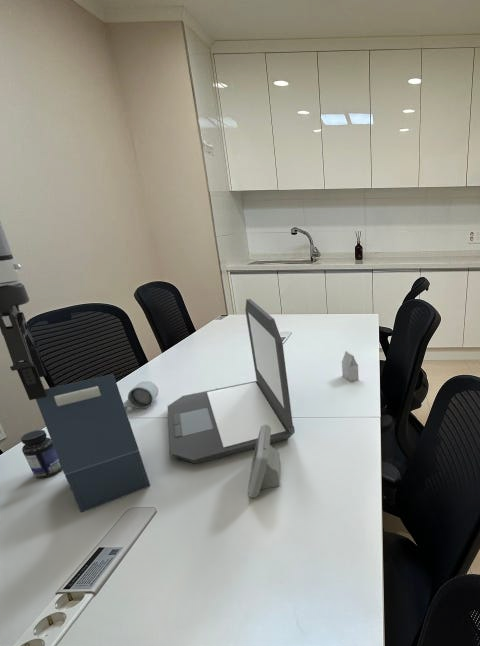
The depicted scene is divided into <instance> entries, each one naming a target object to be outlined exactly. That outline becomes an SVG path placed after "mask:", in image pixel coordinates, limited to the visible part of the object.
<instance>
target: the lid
mask: <svg viewBox="0 0 480 646" xmlns="http://www.w3.org/2000/svg"><path fill="white" fill-rule="evenodd" d="M44 389H45V391H46V394H47V397H42V398H38V399H35V401H36V403H37V406H38V409H39V412H40V415H41V417H42V419H43V422H44V425H45V427H46V430H47V432H48V435H49V438H50V439H51V441H52V443H53V446H54V448H55V451H56V454H57V456H58V459H59V462H60V464H61V467H62V472H63V474H64V475H65V474H66V473H69V472H72V471H75V470H78V469H82V468H85V467H88V466H91V465H94V464H97V463H100V462H103V461H106V460H109V459H112V458H115V457H118V456H121V455H124V454H127V453H130V452H133V451H136V450H139V451H140V449H139V445H138V443H137V440H136V437H135V434H134V431H133V428H132V425H131V422H130V420H129V419H130V418H129V415H128V414H127V410H126V406H125V405H124V402H123V398H122V396H121V393H120V390H119V386H118V383H117V380H116V377H115V375H114V373H112V374H107V375H102V376H97V377H93V378H89V379H84V380H80V381H76V382H71V383H65V384H62V385H58V386H53V387H48V388H44Z"/></svg>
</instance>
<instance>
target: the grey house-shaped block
mask: <svg viewBox="0 0 480 646" xmlns="http://www.w3.org/2000/svg"><path fill="white" fill-rule="evenodd" d="M341 370H342V371H341V373H342V377H343V378H345V379H346V380H347V381H348V382H350V383H352V382H354V381H359V379H360V378H359V364H358V362H357V361H356V359H355V356H354V355H353V354H352V353H351V352H349V351H348V350H345V351H344V355H343V357H342V360H341Z"/></svg>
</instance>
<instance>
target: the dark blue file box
mask: <svg viewBox="0 0 480 646" xmlns="http://www.w3.org/2000/svg"><path fill="white" fill-rule="evenodd" d="M64 476H65V479H66V481H67V484H68V485H69V488H70V490H71V493H72V495H73V497H74V500H75V502H76V504H77V507H78V509H79V511H80V513H83V512H85V511H88V510H91V509H93V508H96V507H99V506H102V505H104V504H106V503H107V504H108V503H109V502H112V501H114V500H117V499H120V498H123V497H125V496H127V495H131V494H133V493H136V492H138V491H141V490H143V489H145V488H149V487H151V484H150V480H149V476H148V474H147V471H146V467H145V465H144V462H143V459H142V456H141V452H140V449H139V450H136V451H133V452H130V453H127V454H124V455H121V456H118V457H115V458H112V459H109V460H106V461H103V462H100V463H97V464H94V465H91V466H88V467H85V468H82V469H78V470H75V471H72V472H69V473H66V474H64Z"/></svg>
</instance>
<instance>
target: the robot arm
mask: <svg viewBox="0 0 480 646" xmlns="http://www.w3.org/2000/svg"><path fill="white" fill-rule="evenodd" d="M1 222H2V221H0V332H1V335H2V337H3V339H4V342H5V345H6V348H7V351H8V353H9V356H10V359H11V362H12V365H10V366H9V368H10V371H12V372H14V371H16V372H17V374H18V376H19V379H20V381H21V383H22V386H23V389H24V391H25V393H26V395H27V398H28V400H29V401H33V400H36V399H38V398H42V397H47V394H46V391H45V389H46V388H45V386H44V383H43V382H42V381H43V380H42V379H41V378H44V377H47V373H46V371H45V367H44V365H43V363H42V360H41V358H40V355H39V353H38V350H37V348H36V347H40V345H39V342H38V341H34V340H35V339H34V338H33V336H32V335H31V332H30V330H29V327H28V324H27V321H26V318H25V314H24V312H23V311H21V310H20V306H22V305H26V304H28V303H29V302H30V297H29V294H28V292H27V289H26V287H25V285H24V284H23V283H22V282H19V281H21V279H22V278H21V277H22V276H21V275H20V272H19V271H18V270H21V269H22V265H21V264H19V263H15V260H14V256H13V254H12V250H11V247H10V245H9V244H10V243H9V242H8V238H7V236H6V234H5V231H4V228H3V225H2V223H1Z"/></svg>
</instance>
